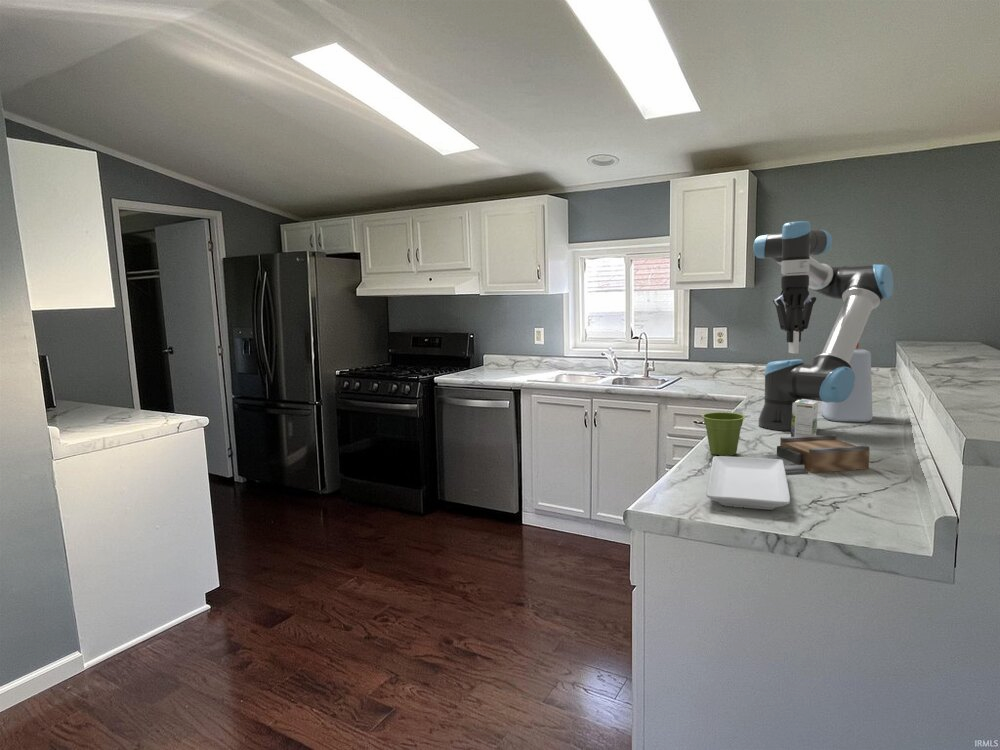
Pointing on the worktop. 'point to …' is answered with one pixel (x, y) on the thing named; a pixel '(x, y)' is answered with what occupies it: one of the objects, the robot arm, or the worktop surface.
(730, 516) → the worktop surface
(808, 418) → the syrup box
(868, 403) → the plastic bottle
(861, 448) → the walnut box
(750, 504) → the tray
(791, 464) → the lid
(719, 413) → the plant pot
